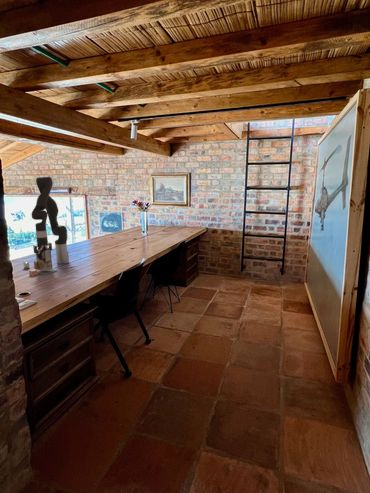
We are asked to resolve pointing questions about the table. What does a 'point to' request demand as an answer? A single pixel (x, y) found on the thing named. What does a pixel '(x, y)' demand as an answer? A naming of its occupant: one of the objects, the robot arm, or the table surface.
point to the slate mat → (46, 272)
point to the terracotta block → (33, 272)
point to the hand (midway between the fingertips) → (43, 257)
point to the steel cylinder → (26, 265)
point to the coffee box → (44, 260)
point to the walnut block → (35, 264)
